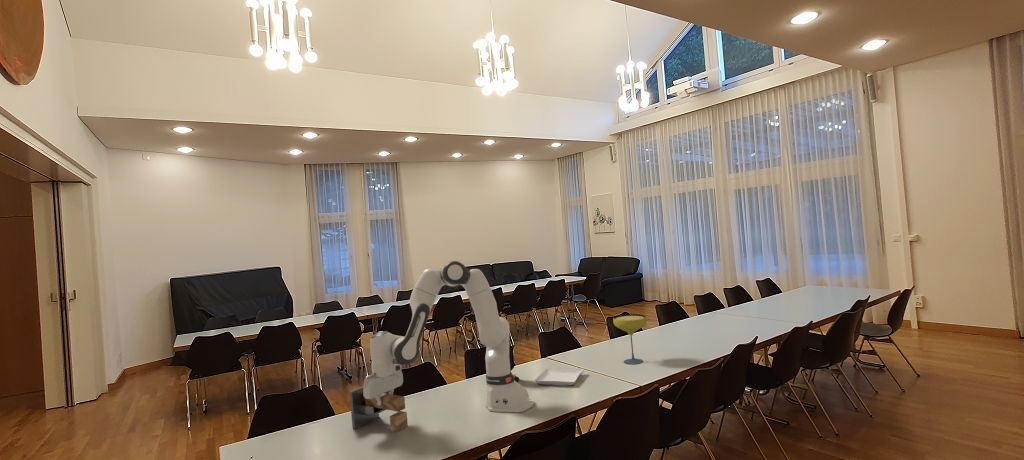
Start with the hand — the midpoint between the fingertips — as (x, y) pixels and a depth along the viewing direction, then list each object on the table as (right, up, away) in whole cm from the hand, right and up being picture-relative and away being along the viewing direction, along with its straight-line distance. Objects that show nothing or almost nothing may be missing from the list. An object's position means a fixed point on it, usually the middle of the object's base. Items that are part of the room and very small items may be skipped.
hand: (385, 402), depth 206 cm
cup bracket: (-7, -11, +4) cm, 13 cm away
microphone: (+52, -6, +48) cm, 71 cm away
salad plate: (+80, -4, +42) cm, 90 cm away
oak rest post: (+7, -10, -4) cm, 12 cm away
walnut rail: (0, -2, 0) cm, 2 cm away
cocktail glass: (+123, 0, +63) cm, 138 cm away
